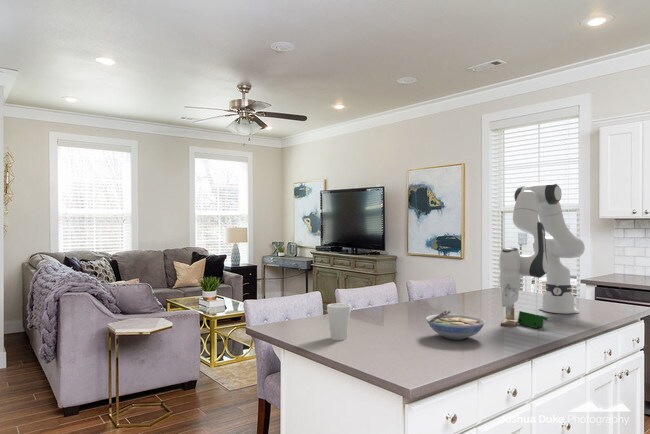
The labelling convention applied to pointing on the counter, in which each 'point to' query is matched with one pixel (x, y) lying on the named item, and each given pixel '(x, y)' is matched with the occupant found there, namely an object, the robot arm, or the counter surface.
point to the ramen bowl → (455, 325)
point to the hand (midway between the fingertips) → (510, 314)
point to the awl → (510, 317)
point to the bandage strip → (509, 323)
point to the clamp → (531, 319)
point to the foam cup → (339, 320)
